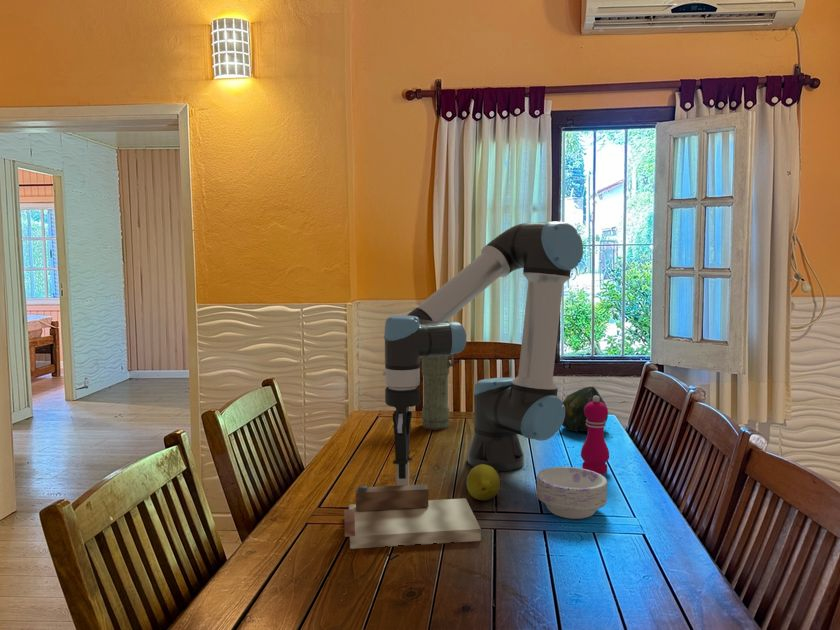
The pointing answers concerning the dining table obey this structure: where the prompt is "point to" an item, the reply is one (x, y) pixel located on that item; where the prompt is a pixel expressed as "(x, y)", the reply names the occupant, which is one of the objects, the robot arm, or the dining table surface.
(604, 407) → the pepper mill
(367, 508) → the walnut leg
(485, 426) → the robot arm
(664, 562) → the dining table surface
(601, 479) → the paper bowls
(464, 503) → the stool seat
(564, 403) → the squash
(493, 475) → the lemon
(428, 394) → the thermos
